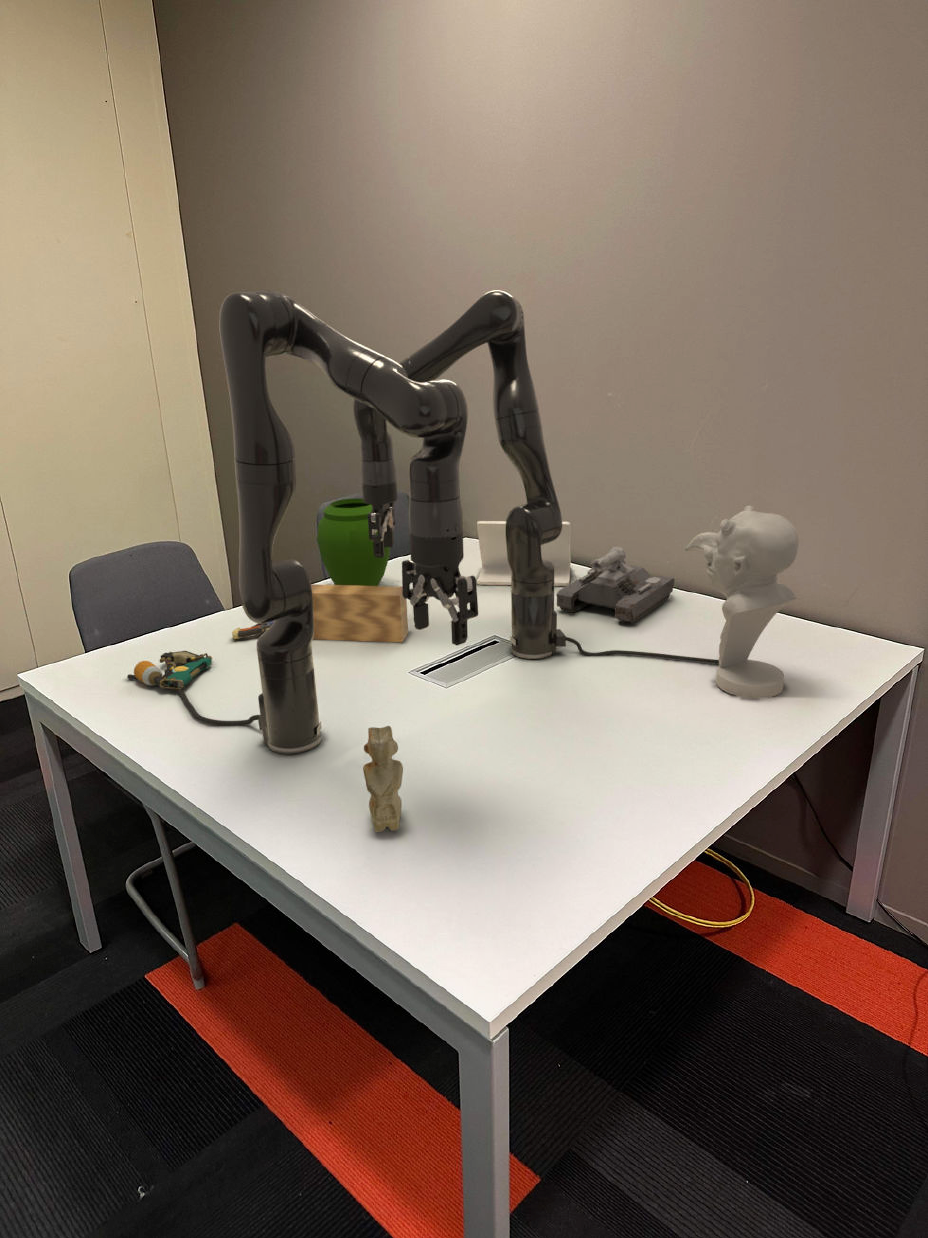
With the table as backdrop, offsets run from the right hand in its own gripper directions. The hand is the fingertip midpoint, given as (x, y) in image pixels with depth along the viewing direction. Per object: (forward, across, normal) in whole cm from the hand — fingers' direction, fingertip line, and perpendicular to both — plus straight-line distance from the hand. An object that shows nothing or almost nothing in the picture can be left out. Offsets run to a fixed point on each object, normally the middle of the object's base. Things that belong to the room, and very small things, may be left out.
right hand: (384, 552), depth 191 cm
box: (+20, -1, -10) cm, 23 cm away
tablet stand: (+20, -49, +27) cm, 60 cm away
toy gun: (+20, -4, -32) cm, 38 cm away
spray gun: (+20, +25, -40) cm, 52 cm away
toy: (+21, -26, +52) cm, 62 cm away
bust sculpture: (+22, +17, +74) cm, 79 cm away
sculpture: (+22, +73, +17) cm, 78 cm away
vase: (+20, -31, -16) cm, 40 cm away
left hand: (-6, +65, +25) cm, 70 cm away
